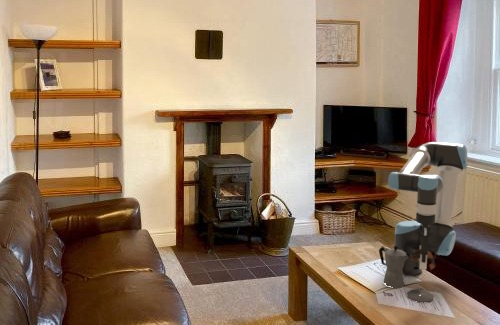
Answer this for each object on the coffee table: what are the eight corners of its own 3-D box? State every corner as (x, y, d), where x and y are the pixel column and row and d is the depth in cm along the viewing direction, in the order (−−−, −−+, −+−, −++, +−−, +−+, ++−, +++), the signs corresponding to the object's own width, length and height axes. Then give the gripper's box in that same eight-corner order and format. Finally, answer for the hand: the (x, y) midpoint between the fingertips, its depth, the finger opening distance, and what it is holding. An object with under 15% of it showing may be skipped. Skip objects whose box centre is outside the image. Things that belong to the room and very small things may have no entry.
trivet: (406, 290, 237) (406, 288, 237) (433, 293, 234) (433, 290, 234) (406, 300, 227) (407, 298, 226) (434, 304, 224) (434, 301, 223)
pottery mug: (429, 273, 220) (419, 255, 221) (412, 275, 228) (403, 258, 229) (445, 259, 227) (436, 241, 227) (429, 262, 235) (420, 245, 235)
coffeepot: (412, 286, 241) (415, 247, 237) (399, 292, 235) (401, 252, 232) (384, 275, 253) (386, 238, 249) (371, 280, 247) (373, 243, 243)
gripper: (415, 205, 235) (412, 254, 239) (416, 219, 214) (413, 273, 218) (434, 206, 233) (430, 256, 237) (436, 221, 212) (433, 275, 216)
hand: (422, 264), depth 228 cm, fingers closed on pottery mug, 9 cm apart
